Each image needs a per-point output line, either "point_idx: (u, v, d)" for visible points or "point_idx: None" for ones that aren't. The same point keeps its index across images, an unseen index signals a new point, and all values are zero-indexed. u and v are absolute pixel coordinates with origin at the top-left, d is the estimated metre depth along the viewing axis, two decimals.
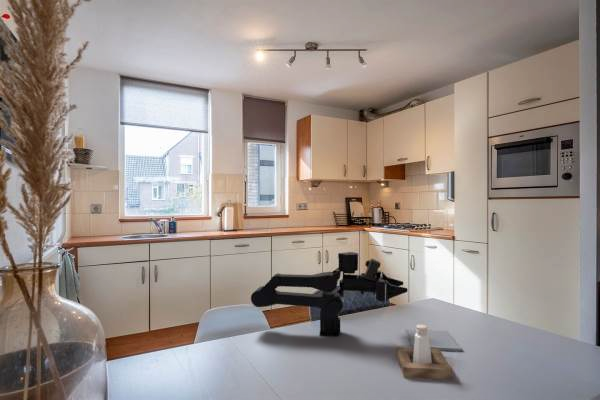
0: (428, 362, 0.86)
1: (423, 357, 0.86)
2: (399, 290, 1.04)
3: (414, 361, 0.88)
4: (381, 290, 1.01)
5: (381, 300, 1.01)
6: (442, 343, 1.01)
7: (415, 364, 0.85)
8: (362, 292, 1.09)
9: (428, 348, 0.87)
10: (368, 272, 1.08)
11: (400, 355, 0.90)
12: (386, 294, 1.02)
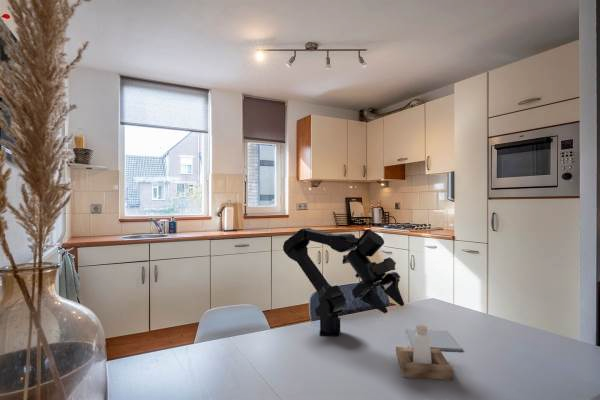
0: (428, 362, 0.86)
1: (423, 357, 0.86)
2: (378, 305, 0.92)
3: (414, 361, 0.88)
4: (359, 288, 0.92)
5: (354, 296, 0.94)
6: (442, 343, 1.01)
7: (415, 364, 0.85)
8: (357, 275, 1.01)
9: (428, 348, 0.87)
10: (373, 266, 0.97)
11: (400, 355, 0.90)
12: (362, 296, 0.93)
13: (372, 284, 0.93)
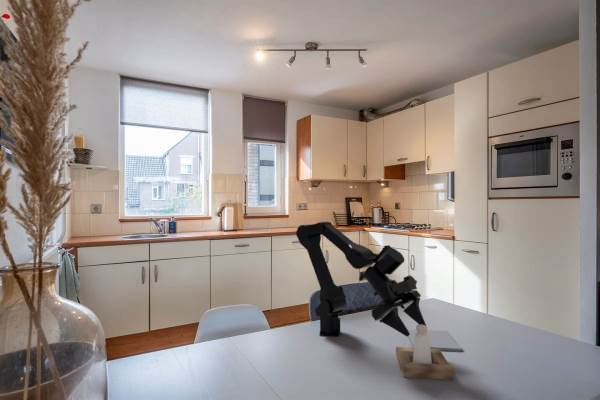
0: (428, 362, 0.86)
1: (423, 357, 0.86)
2: (400, 327, 0.87)
3: (414, 361, 0.88)
4: (379, 310, 0.87)
5: (373, 317, 0.89)
6: (442, 343, 1.01)
7: (415, 364, 0.85)
8: (375, 294, 0.96)
9: (428, 348, 0.87)
10: (393, 286, 0.92)
11: (400, 355, 0.90)
12: (383, 318, 0.88)
13: (393, 305, 0.88)
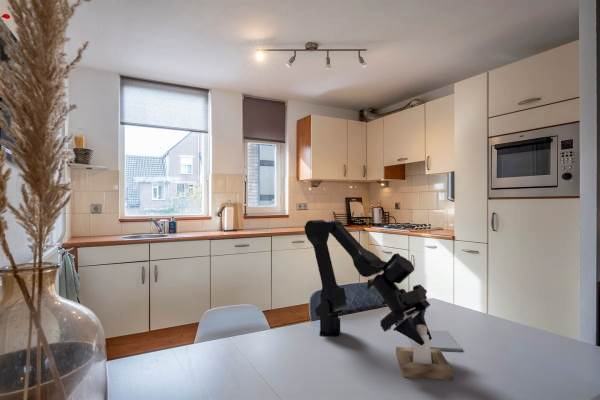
0: (428, 362, 0.86)
1: (424, 357, 0.86)
2: (414, 336, 0.87)
3: (414, 361, 0.88)
4: (389, 321, 0.85)
5: (382, 328, 0.87)
6: (442, 343, 1.01)
7: (415, 364, 0.85)
8: (384, 303, 0.94)
9: (428, 348, 0.87)
10: (403, 295, 0.90)
11: (400, 355, 0.90)
12: (397, 326, 0.88)
13: (403, 316, 0.86)
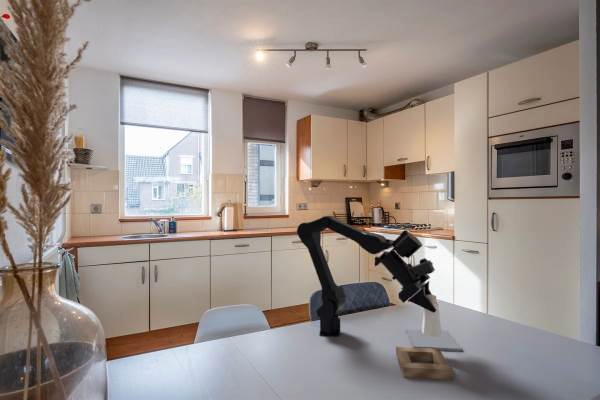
0: (438, 327, 0.94)
1: (435, 323, 0.94)
2: (427, 305, 0.94)
3: (426, 328, 0.95)
4: (409, 292, 0.90)
5: (402, 299, 0.91)
6: (442, 343, 1.01)
7: (415, 364, 0.85)
8: (394, 278, 0.99)
9: (438, 315, 0.95)
10: (415, 268, 0.96)
11: (400, 355, 0.90)
12: (412, 297, 0.93)
13: (420, 286, 0.91)
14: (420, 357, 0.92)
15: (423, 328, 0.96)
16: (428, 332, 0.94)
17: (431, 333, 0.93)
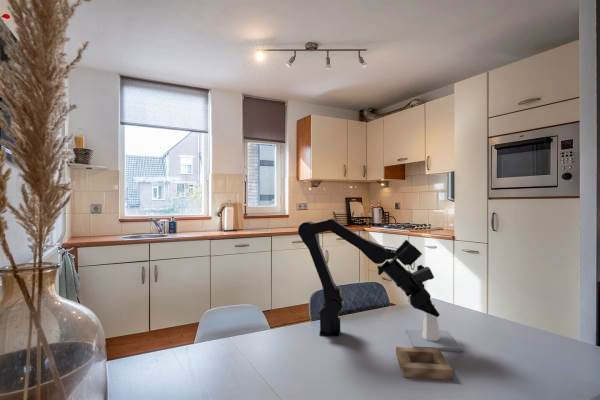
0: (438, 332, 1.04)
1: (436, 329, 1.03)
2: (432, 310, 1.00)
3: (428, 334, 1.04)
4: (421, 298, 0.97)
5: (414, 305, 0.98)
6: (442, 343, 1.01)
7: (415, 364, 0.85)
8: (398, 285, 1.05)
9: (437, 320, 1.05)
10: (418, 275, 1.04)
11: (400, 355, 0.90)
12: (421, 304, 0.99)
13: (428, 292, 1.00)
14: (420, 357, 0.92)
15: (425, 334, 1.04)
16: (431, 337, 1.03)
17: (433, 338, 1.03)
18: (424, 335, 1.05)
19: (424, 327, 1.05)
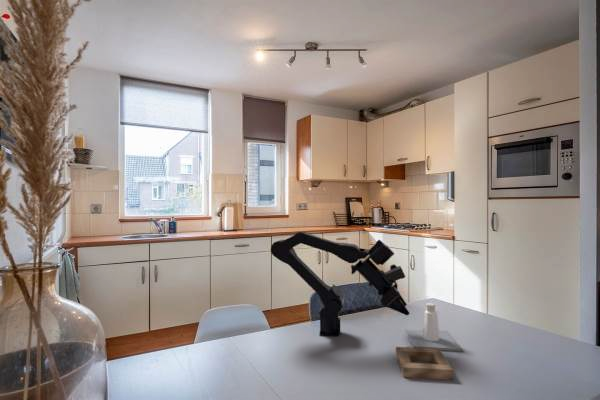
0: (438, 332, 1.04)
1: (436, 329, 1.03)
2: (402, 309, 1.02)
3: (428, 334, 1.03)
4: (390, 296, 0.99)
5: (384, 304, 1.00)
6: (442, 343, 1.01)
7: (415, 364, 0.85)
8: (370, 284, 1.07)
9: (437, 321, 1.05)
10: (389, 274, 1.06)
11: (400, 355, 0.90)
12: (390, 303, 1.01)
13: (398, 291, 1.02)
14: (420, 357, 0.92)
15: (425, 334, 1.04)
16: (431, 338, 1.03)
17: (433, 338, 1.03)
18: (424, 335, 1.05)
19: (424, 327, 1.05)
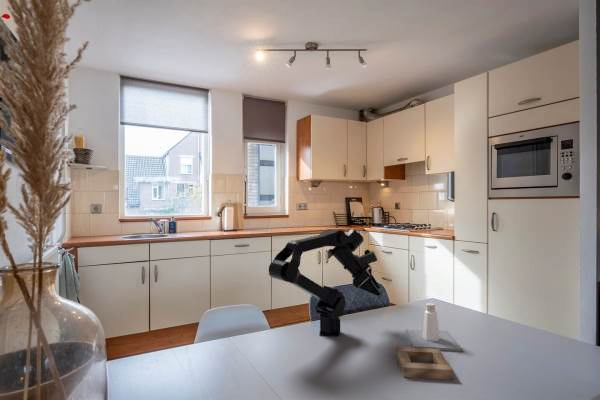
0: (438, 332, 1.04)
1: (436, 329, 1.03)
2: (374, 290, 1.09)
3: (428, 334, 1.03)
4: (362, 278, 1.07)
5: (356, 285, 1.07)
6: (442, 343, 1.01)
7: (415, 364, 0.85)
8: (345, 267, 1.15)
9: (437, 321, 1.05)
10: (362, 258, 1.13)
11: (400, 355, 0.90)
12: (362, 284, 1.08)
13: (369, 273, 1.09)
14: (420, 357, 0.92)
15: (425, 334, 1.04)
16: (431, 338, 1.03)
17: (433, 338, 1.03)
18: (424, 335, 1.05)
19: (424, 327, 1.05)
